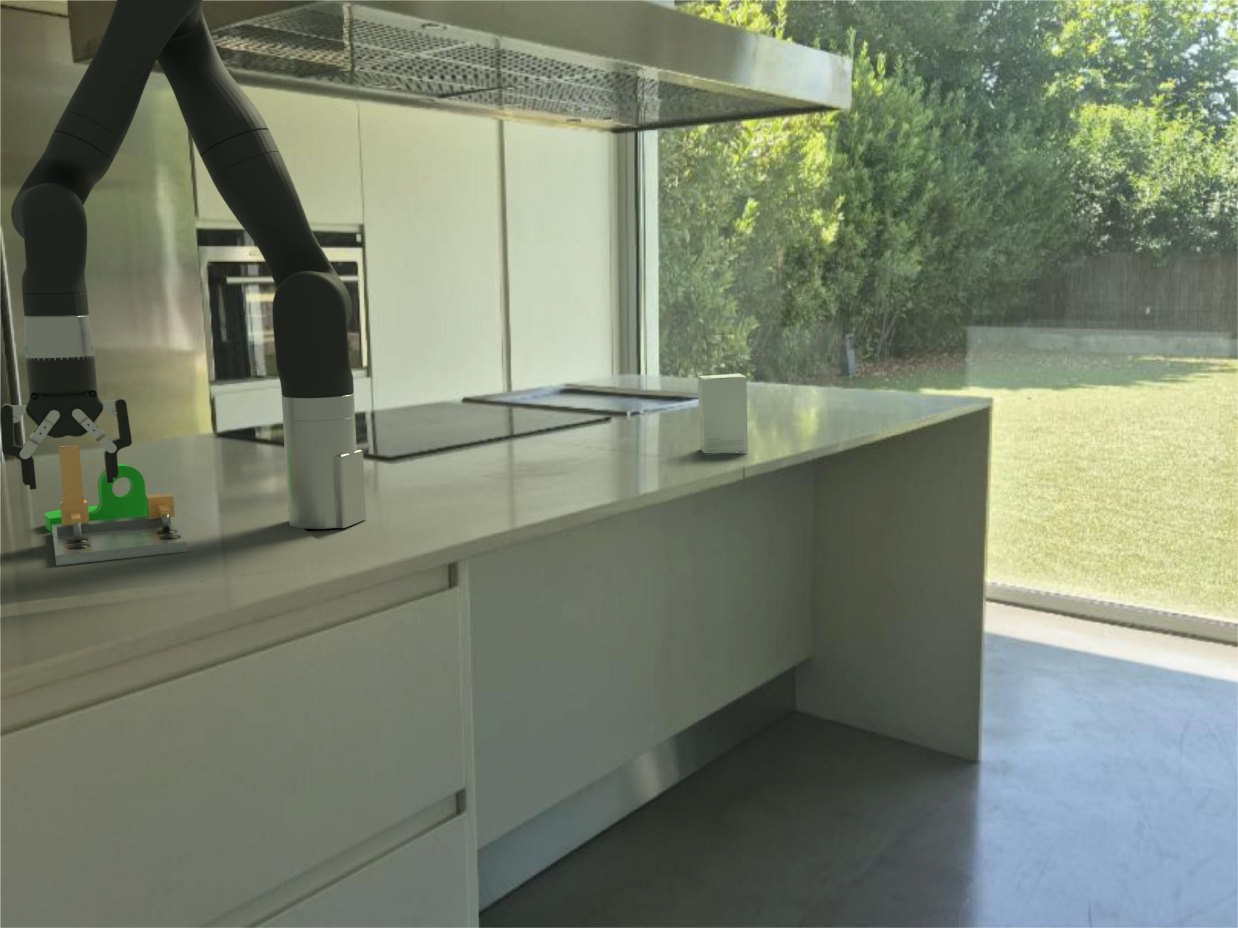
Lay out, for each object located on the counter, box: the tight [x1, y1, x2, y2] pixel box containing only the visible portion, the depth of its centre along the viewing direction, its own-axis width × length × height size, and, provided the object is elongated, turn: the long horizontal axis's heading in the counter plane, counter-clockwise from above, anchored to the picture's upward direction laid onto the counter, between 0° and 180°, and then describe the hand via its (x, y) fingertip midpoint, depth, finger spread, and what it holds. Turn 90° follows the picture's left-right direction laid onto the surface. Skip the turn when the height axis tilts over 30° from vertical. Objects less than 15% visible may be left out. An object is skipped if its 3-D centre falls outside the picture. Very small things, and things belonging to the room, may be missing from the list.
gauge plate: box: [51, 492, 188, 567], centre depth 139 cm, size 14×20×5 cm
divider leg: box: [58, 444, 89, 540], centre depth 137 cm, size 3×8×10 cm, turn 28°
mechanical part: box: [44, 463, 147, 533], centre depth 151 cm, size 12×6×8 cm, turn 127°
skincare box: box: [697, 373, 749, 455], centre depth 205 cm, size 8×6×15 cm
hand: (71, 485), depth 139 cm, fingers open, 8 cm apart
